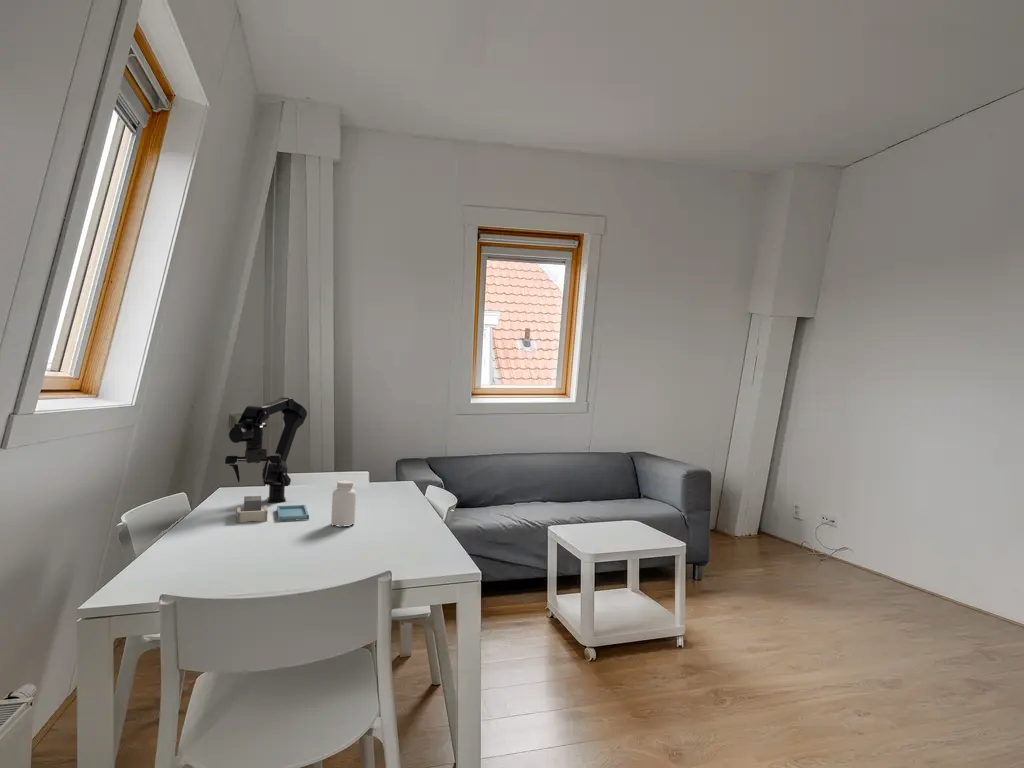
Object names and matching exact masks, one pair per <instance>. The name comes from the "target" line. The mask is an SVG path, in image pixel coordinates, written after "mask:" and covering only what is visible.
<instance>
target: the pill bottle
mask: <svg viewBox="0 0 1024 768" xmlns="http://www.w3.org/2000/svg"><path fill="white" fill-rule="evenodd" d="M336 484H337V487H336V489H334V490H333V492H332V497H331V498H332V499H331V520H330V521H331V525H332V524H333V525H339V526H344V525H350V524H353V523H356V509H357V508H356V505H357V492H356V490H355V489H353V488H354V482H353V481H351V480H338V481H336ZM333 525H332V526H333Z"/></svg>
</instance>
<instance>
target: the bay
mask: <svg viewBox="0 0 1024 768" xmlns="http://www.w3.org/2000/svg"><path fill="white" fill-rule="evenodd" d="M268 514H269V513H268V506H267V504H266V505H263V510H261V511H244V510H243V511H241V506H237V509H236V523H237V522H240V523H247V522H246V521H258V522H268Z"/></svg>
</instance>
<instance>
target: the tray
mask: <svg viewBox="0 0 1024 768" xmlns="http://www.w3.org/2000/svg"><path fill="white" fill-rule="evenodd" d="M276 512H278V513H277V518H279V519H278V522H284V521H283V520H294V521H297V520H296V519H310V514H309V511H308V508H307V506H306V504H294V505H292V504H291V505H277V506H276Z"/></svg>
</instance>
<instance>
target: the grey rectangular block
mask: <svg viewBox="0 0 1024 768" xmlns="http://www.w3.org/2000/svg"><path fill="white" fill-rule="evenodd" d="M243 511H262V495H246V496H244V497H243Z"/></svg>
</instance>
